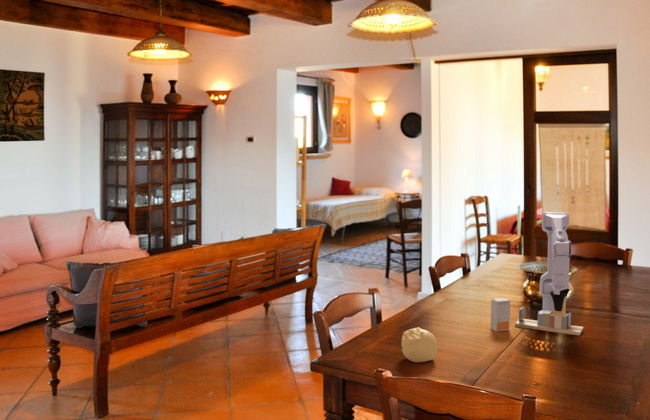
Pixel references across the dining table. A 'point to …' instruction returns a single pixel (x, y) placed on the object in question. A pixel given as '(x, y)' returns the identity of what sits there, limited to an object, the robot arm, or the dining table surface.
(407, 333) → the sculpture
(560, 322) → the books
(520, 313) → the bookends
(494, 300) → the skincare box
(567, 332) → the shelf board
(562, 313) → the tan rectangular block
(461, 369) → the dining table surface
